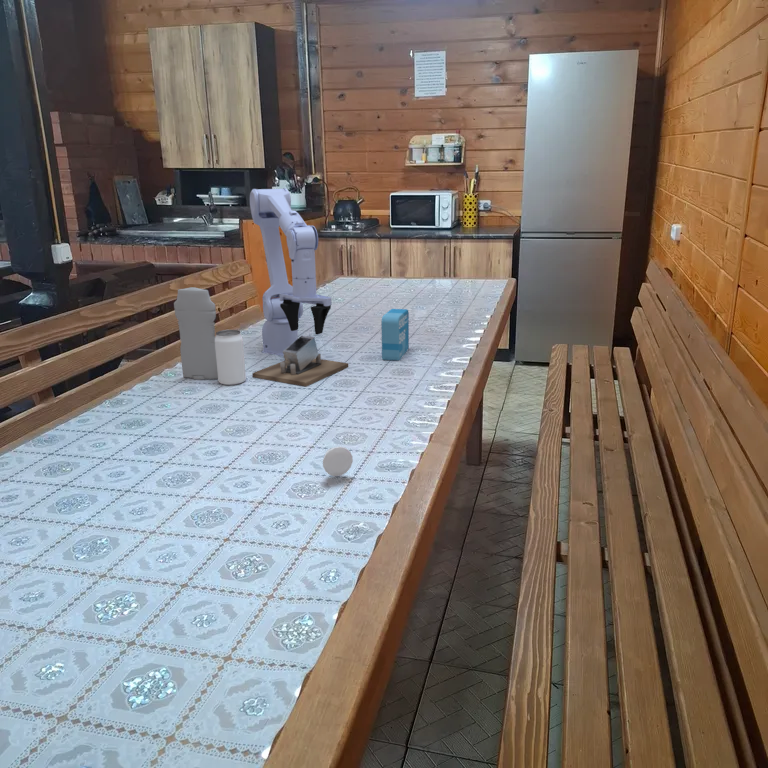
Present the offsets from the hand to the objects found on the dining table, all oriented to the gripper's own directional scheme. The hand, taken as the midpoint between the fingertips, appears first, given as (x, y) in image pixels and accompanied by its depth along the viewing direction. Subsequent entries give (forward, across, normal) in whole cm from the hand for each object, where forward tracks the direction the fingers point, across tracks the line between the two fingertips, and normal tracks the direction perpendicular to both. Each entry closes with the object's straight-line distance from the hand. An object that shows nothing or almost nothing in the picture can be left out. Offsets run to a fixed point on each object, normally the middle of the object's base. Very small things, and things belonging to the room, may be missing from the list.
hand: (306, 331), depth 168 cm
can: (+10, -9, -18) cm, 22 cm away
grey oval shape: (+9, +42, -48) cm, 64 cm away
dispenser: (+10, -18, -19) cm, 28 cm away
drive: (+7, +1, -3) cm, 8 cm away
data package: (+10, +14, +20) cm, 26 cm away
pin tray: (+9, +1, -4) cm, 10 cm away
